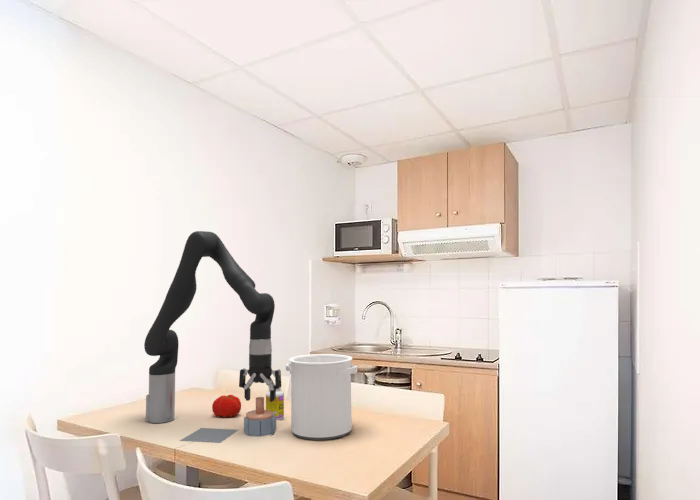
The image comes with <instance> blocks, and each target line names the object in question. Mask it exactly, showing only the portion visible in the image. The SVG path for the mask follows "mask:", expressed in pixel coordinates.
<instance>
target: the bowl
mask: <svg viewBox="0 0 700 500" xmlns="http://www.w3.org/2000/svg"><path fill="white" fill-rule="evenodd" d="M276 430H277V420H276V415H274V414H273V417H272V418H270V419H266V420H249V419H247V418H246V416H244V417H243V432H244V434H245V435H247V436H249V437H264V436H265V437H266V436H270V437H272V436H273V435H275V434H276Z"/></svg>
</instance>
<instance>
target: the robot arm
mask: <svg viewBox="0 0 700 500" xmlns="http://www.w3.org/2000/svg"><path fill="white" fill-rule="evenodd" d="M223 242H224V241H222V240H221V238H220V236H218V234H217V233H215V232H212V231H206V230H205V231H202V230H200V231H199V230H197V231H193V232H192V233H190V235H189V236H188V237H187V240H186V241H185V244H184V248H183V251H182V255H181V259H180V261H179V264H178V267H177V268H176V271H175V275H174V277H173V279H172V282H171V284H170V285H169V288H168V290H167V293H166V295H165V297H164V301H163V303H162V305H161V307H160V310H159V312H158V314H157V316H156V318H155V319H154V322H153V323H152V325H151V327H150V329H149V330H148V332H147V335H146V336H145V339H144V345H143V346H144V351H145V353H146V355H148V356H151V357H157V356H159V357H158V360H156V362H154V363H153V364H152V365H150V366H149V368H148V394H147V395H145V396H146V397H145V422H148V423H151V424H163V423H168V422H171V421H174V420H175V414H176V413H175V411H176V406H175V405H176V368H177V365H178V359H179V357H178V356H179V346H180V345H179V337H178V334H177V333H176V331H175V330H173V329H170V328H171V327H172V326H173V324H175V323H176V321H177V320H179V318H181V316H183V314H184V313H186V312H187V310H188V309H189V308H190V306H191V304H192V303H193V300H194V298H195V295H196V293H197V278H196V277H197V276H196V275H197V274H196V273H197V269H198V266H199V263H200V262H201V260H202V258H208V257H209V258H211V259H212V260H213V261H215V262H216V263H217V265H218V266H219V267H220V269H221V271H222V274H223V278H224V280H225V282H226V283H227V284H228V285H229V287H230V288H231V289H232V290H233V291H234V292H235V293H236V294H237V295H238V296H239V298H240V301H241V302H242V304H243V307H244V308H245V309H246V310H247V311H248V312H250V313H251V314H253V315H255V319H254V320H253V321H251V324H250V327H249V345H248V346H249V347H248V369H246V368H242V369H240V370H239V380H238V381H239V382H238V387H239V388H243V390H244V399H245V401H246V402H247V401H250V400H251V386H252V385H253V384H258V383H261V384H264V383H265V385H266V386H268V389H269V388H270V389H271V390H270V402H273V401H274V400H275V398H276V389H278V388H280V387H281V388H282V373H281V369H276V370H275V369H273V367H272V355H273V354H272V352H273V348H272V339H271V338H272V323H273V319H274V314H275V307H276V306H275V300H274V298H273V296H272V295H271V294H270V293H260V292H258V290H256V283H255V281H254V280H253V279H252V278H251V277H250V276H249V275H248V274H247V272H246V271H245V270H243V268H241V266H240V265H239V264H238V262H237V261H236V260H235V259H234V257H233V255H232V254H231V253H230V251H229V250H228V248H227V247H226V246H225V244H224V243H223ZM247 375H249V377H250V378H249V379H248V380H247V382H246V379H247V377H246V376H247ZM272 375H273V377H274V380H273V379H272V377H271V376H272ZM274 383H275V384H274Z"/></svg>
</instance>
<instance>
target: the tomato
mask: <svg viewBox="0 0 700 500" xmlns="http://www.w3.org/2000/svg"><path fill="white" fill-rule="evenodd" d="M211 409H212V412H213V414H214V415H215V416H216V417H218V418H227V419H228V418H230V417H235V416H237V415H239V413H240V412H241V410H242V402H241V399H240V398H239V397H238V396H235V395H233V394H228V395H220V396H218V398H216V399H215V400H214V401H213V402H212V408H211Z"/></svg>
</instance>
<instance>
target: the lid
mask: <svg viewBox="0 0 700 500" xmlns="http://www.w3.org/2000/svg"><path fill="white" fill-rule="evenodd" d="M245 417H246V418H247V419H249V420H266V419H270V418H272V417H273V411H271V410H266V409H265V397H263V396H257V397H255V409H254V410H250V411H248V412H246V413H245Z"/></svg>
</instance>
